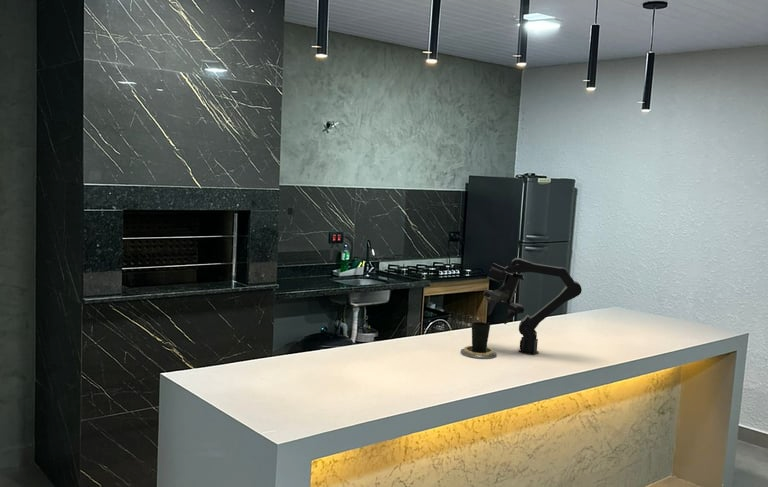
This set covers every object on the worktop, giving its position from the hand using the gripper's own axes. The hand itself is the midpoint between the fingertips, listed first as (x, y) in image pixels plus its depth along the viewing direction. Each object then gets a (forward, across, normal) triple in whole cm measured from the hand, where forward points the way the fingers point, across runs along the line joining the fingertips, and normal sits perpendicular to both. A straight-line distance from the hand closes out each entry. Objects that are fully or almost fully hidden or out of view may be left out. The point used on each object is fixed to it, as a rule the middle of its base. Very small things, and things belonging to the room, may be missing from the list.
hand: (496, 319), depth 297 cm
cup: (+14, +5, -11) cm, 18 cm away
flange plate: (+14, +5, -11) cm, 19 cm away
